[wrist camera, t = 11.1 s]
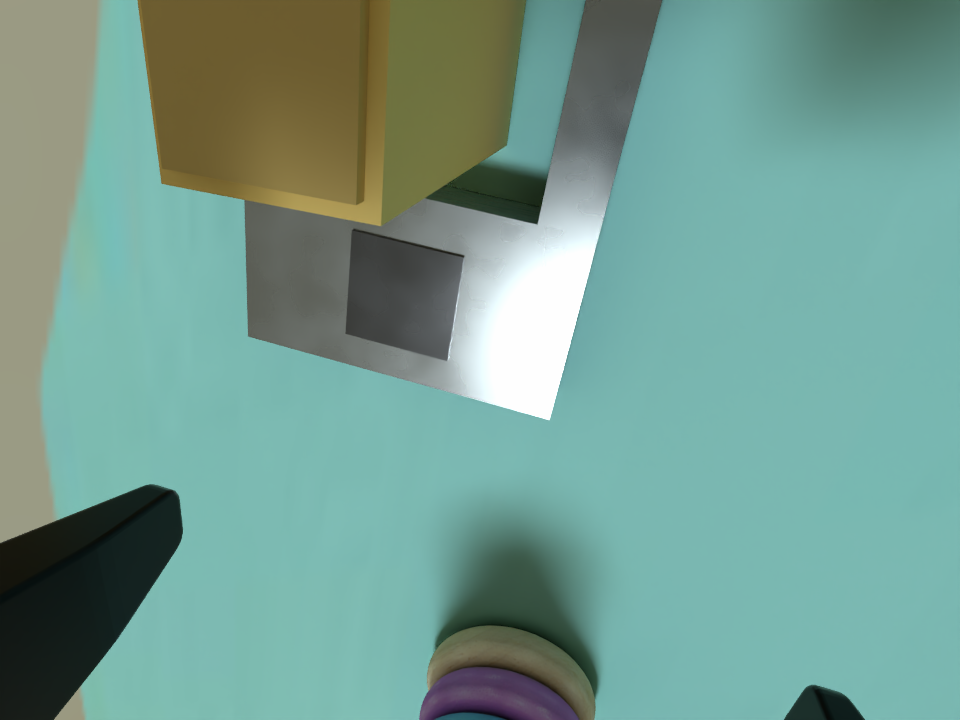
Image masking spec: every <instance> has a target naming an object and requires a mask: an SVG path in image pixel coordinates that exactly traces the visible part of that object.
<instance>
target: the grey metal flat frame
mask: <svg viewBox="0 0 960 720" xmlns="http://www.w3.org/2000/svg"><path fill="white" fill-rule="evenodd" d="M661 3H662V0H586V2H585V7H584V12H583V16H582V21H581V26H580V30H579V35H578V40H577V44H576V49H575V53H574V58H573V63H572V67H571V72H570V77H569V81H568V86H567V91H566V95H565V100H564V104H563V109H562V114H561V118H560V123H559V128H558V132H557V137H556V142H555V146H554V151H553V155H552V160H551V165H550V169H549V174H548V179H547V183H546V188H545V193H544V197H543V202H542V206H541V207H536V206H532V205H528V204H523V203H519V202H514V201H510V200H506V199H501V198H497V197H493V196H488V195H484V194H480V193H475V192H471V191H466V190H462V189H458V188H453V187H449V186H445V185H444V186H443V187H441V188H440V189H438V190H437V191H435V192H433V193H432V194H430V195H429V196H427V197H426V198H424V199H423V200H421V201H419V202H418V203H416V204H415V205H413V206H412V207H410V208H409V209H407V210H406V211H404V212H402V213H401V214H399V215H398V216H396V217H395V218H393V219H392V220H390V221H388V222H387V223H385V224H384V225H382V226H377V225H372V224H367V223H361V222H356V221H351V220H346V219H341V218H336V217H331V216H325V215H320V214H315V213H310V212H305V211H300V210H294V209H289V208H284V207H279V206H274V205H269V204H264V203H258V202H253V201H248V200H245V234H246V272H247V310H248V336H249V337H252V338H256V339H259V340H263V341H267V342H270V343H274V344H278V345H281V346H285V347H288V348H292V349H296V350H299V351H303V352H306V353H310V354H314V355H317V356H321V357H324V358H328V359H332V360H335V361H339V362H342V363H346V364H350V365H353V366H357V367H360V368H364V369H368V370H371V371H375V372H378V373H382V374H386V375H389V376H393V377H396V378H400V379H404V380H407V381H411V382H414V383H418V384H422V385H425V386H429V387H432V388H436V389H440V390H443V391H447V392H450V393H454V394H458V395H461V396H465V397H468V398H472V399H476V400H479V401H483V402H486V403H490V404H494V405H497V406H501V407H504V408H508V409H512V410H515V411H519V412H523V413H526V414H530V415H533V416H537V417H541V418H544V419H548V420H550V416H551V412H552V408H553V405H554V401H555V397H556V394H557V390H558V386H559V382H560V379H561V375H562V371H563V368H564V364H565V360H566V356H567V353H568V349H569V345H570V341H571V338H572V334H573V330H574V327H575V323H576V319H577V315H578V312H579V308H580V304H581V301H582V297H583V293H584V289H585V286H586V282H587V278H588V275H589V271H590V267H591V263H592V260H593V256H594V252H595V249H596V245H597V241H598V237H599V234H600V230H601V226H602V222H603V219H604V215H605V211H606V208H607V204H608V200H609V196H610V193H611V189H612V185H613V182H614V178H615V174H616V170H617V167H618V163H619V159H620V156H621V152H622V148H623V144H624V141H625V137H626V133H627V129H628V126H629V122H630V118H631V115H632V111H633V107H634V103H635V100H636V96H637V92H638V89H639V85H640V81H641V77H642V74H643V70H644V66H645V63H646V59H647V55H648V51H649V48H650V44H651V40H652V36H653V33H654V29H655V25H656V22H657V18H658V14H659V10H660V7H661Z"/></svg>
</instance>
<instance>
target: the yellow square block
mask: <svg viewBox="0 0 960 720" xmlns="http://www.w3.org/2000/svg"><path fill="white" fill-rule="evenodd" d="M525 5H526V0H138V8H139V15H140V23H141V31H142V38H143V46H144V53H145V61H146V69H147V76H148V84H149V91H150V99H151V107H152V114H153V122H154V129H155V137H156V145H157V152H158V160H159V167H160V175H161V183H162V184H166V185H171V186H176V187H181V188H186V189H191V190H197V191H202V192H207V193H212V194H217V195H222V196H227V197H233V198H238V199H243V200H248V201H253V202H258V203H264V204H269V205H274V206H279V207H284V208H289V209H294V210H300V211H305V212H310V213H315V214H320V215H325V216H331V217H336V218H341V219H346V220H351V221H356V222H361V223H367V224H372V225H377V226H382V225H384V224H385V223H387V222H388V221H390V220H392V219H393V218H395V217H396V216H398V215H399V214H401V213H402V212H404V211H406V210H407V209H409V208H410V207H412V206H413V205H415V204H416V203H418V202H419V201H421V200H423V199H424V198H426V197H427V196H429V195H430V194H432V193H433V192H435V191H437V190H438V189H440V188H441V187H443V186H444V185H446V184H447V183H449V182H451V181H452V180H454V179H455V178H457V177H458V176H460V175H461V174H463V173H464V172H466V171H468V170H469V169H471V168H472V167H474V166H475V165H477V164H478V163H480V162H482V161H483V160H485V159H486V158H488V157H489V156H491V155H492V154H494V153H496V152H497V151H499V150H500V149H502V148H503V147H505V146H506V145H507V139H508V132H509V124H510V117H511V109H512V102H513V94H514V87H515V80H516V72H517V65H518V57H519V50H520V42H521V35H522V27H523V20H524V13H525Z"/></svg>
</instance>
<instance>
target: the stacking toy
mask: <svg viewBox="0 0 960 720" xmlns="http://www.w3.org/2000/svg"><path fill="white" fill-rule="evenodd" d="M427 685H428V690H429V691H428V693H427V694H426V696H425V698H424V701H423V704H422V707H421V711H420V718H419V720H594V718H595V708H596V707H595V698H594V693H593V690H592V687H591V684H590V682H589V680H588V678H587V677H586V675H585V673H584V672H583V671H582V669H581V668H580V666H579V665H578V664H577V663H576V662H575V661H574V660H573V659H572V658H571V657H570V656H569V655H568V654H567V653H565V652H564V651H563V650H561V649H560V648H559V647H557V646H556V645H554V644H552V643H551V642H549V641H547V640H545V639H543V638H541V637H539V636H537V635H535V634H532V633H529V632H527V631H523V630H520V629H516V628H511V627H505V626H493V625H487V626H477V627H472V628H468V629H465V630H462V631H459V632H457V633H455V634H453V635H452V636H450V637H448V638H447V639H446V640H445V641H443V642H442V643H441V644H440V646H439V647H438V648H437V649H436V651H435V652H434V654H433V656H432V658H431V660H430V663H429V667H428V673H427Z"/></svg>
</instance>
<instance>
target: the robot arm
mask: <svg viewBox="0 0 960 720" xmlns="http://www.w3.org/2000/svg"><path fill="white" fill-rule="evenodd" d="M182 534H183V526H182V517H181V508H180V499H179V495H178V494H177V493H176V491H174V490H171V489H168V488H165V487H161V486H158V485H153V484H150V485H145V486H142V487H140V488H137V489H135V490H132V491H130V492H127V493H125V494H122V495H120V496H117V497H115V498H112V499H110V500H107V501H105V502H102V503H100V504H97V505H95V506H92V507H90V508H87V509H85V510H82V511H79V512H77V513H74V514H72V515H69V516H67V517H64V518H62V519H59V520H57V521H54V522H52V523H49V524H47V525H44V526H42V527H39V528H37V529H34V530H32V531H29V532H27V533H24V534H22V535H19V536H17V537H15V538H12V539H9V540H7V541H4V542H2V543H0V720H54V719H55V717H56V716H57V715H58V714H59V712H60V711H61V709H63V707H64V706H65V705H66V703H67V702H68V701H69V700H70V699H71V697H72V696H73V695H74V693H75V692H76V691H77V690H78V689H79V687H80V686H81V685H82V684H83V682H84V681H85V680H86V679H87V677H88V676H89V675H90V674H91V672H92V671H93V670H94V668H95V667H96V666H97V665H98V663H99V662H100V661H101V660H102V658H103V657H104V656H105V655H106V653H107V652H108V651H109V649H110V648H111V647H112V645H113V644H114V643H115V642H116V640H117V639H118V637H119V636H120V634H121V633H122V632H123V630H124V629H125V627H126V626H127V624H128V623H129V621H130V620H131V618H132V617H133V615H134V614H135V612H136V611H137V609H138V608H139V606H140V604H141V603H142V601H143V600H144V598H145V597H146V595H147V594H148V592H149V591H150V589H151V588H152V586H153V585H154V583H155V582H156V580H157V579H158V577H159V575H160V574H161V572H162V571H163V569H164V568H165V566H166V565H167V563H168V562H169V560H170V559H171V557H172V556H173V554H174V553H175V551H176V549H177V548H178V546H179V544H180V542H181V539H182ZM784 720H865V719H864V718H863V716H862V715H861V714H860V712H859V711H858V710H857V708H856V707H855V706H854V704H853V703H852V702H851V701H850V700H849V699H848V698H847V697H846V696H845V695H844V694H842V693H840V692H837V691H834V690H830V689H827V688H824V687H821V686H817V685H810V686H808V687H806V688H805V689H804V691H803V692H802V693H801V695H800V696H799V698H798V699H797V701H796V702H795V704H794V705H793V707H792V708H791V710H790V711H789V713H788V714H787V715H786V717H785V719H784Z"/></svg>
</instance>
